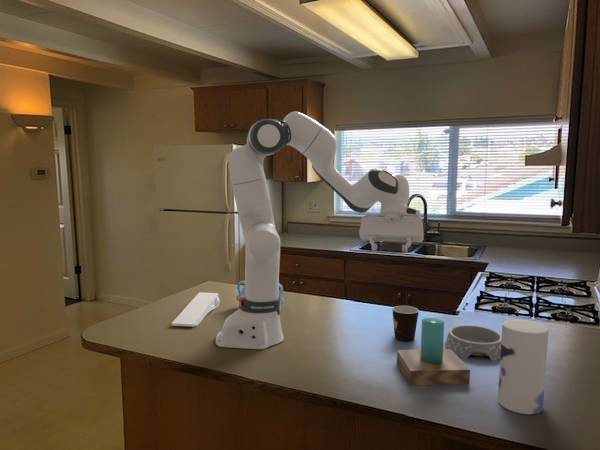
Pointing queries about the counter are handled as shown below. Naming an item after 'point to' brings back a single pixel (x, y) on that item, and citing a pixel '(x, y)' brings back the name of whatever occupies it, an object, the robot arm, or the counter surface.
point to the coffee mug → (405, 322)
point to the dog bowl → (474, 341)
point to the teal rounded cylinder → (432, 340)
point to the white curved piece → (197, 309)
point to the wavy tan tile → (432, 369)
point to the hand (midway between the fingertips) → (389, 250)
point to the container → (523, 366)
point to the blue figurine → (244, 291)
